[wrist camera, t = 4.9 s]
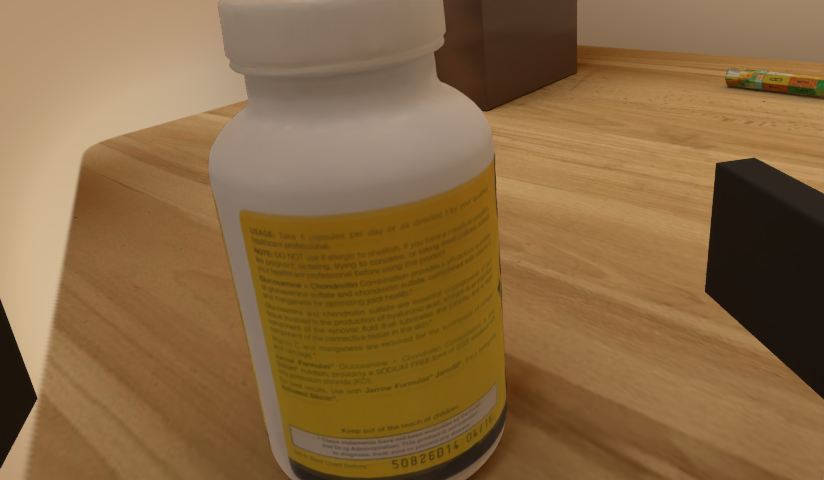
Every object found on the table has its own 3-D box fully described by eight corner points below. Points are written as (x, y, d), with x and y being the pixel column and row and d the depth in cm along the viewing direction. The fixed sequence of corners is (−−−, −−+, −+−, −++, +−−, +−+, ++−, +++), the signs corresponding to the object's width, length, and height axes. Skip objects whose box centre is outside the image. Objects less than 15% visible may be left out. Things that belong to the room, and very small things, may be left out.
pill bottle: (549, 479, 18) (541, -23, 13) (286, 554, 16) (166, 25, 12) (461, 344, 24) (433, -38, 19) (260, 392, 22) (174, -7, 17)
